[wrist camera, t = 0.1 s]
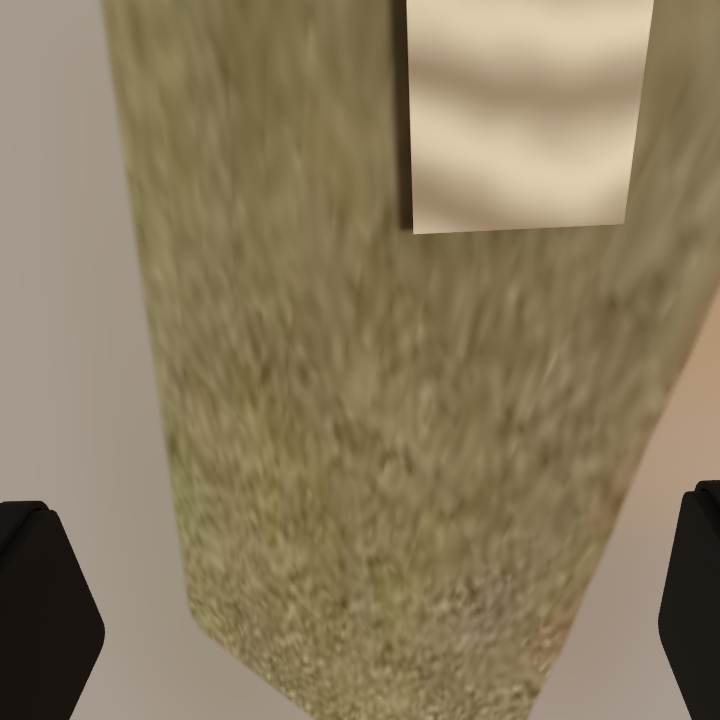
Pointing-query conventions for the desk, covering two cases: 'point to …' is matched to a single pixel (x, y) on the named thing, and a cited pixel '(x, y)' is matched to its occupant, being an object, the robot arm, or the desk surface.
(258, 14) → the desk surface
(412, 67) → the birch board
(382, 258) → the desk surface
